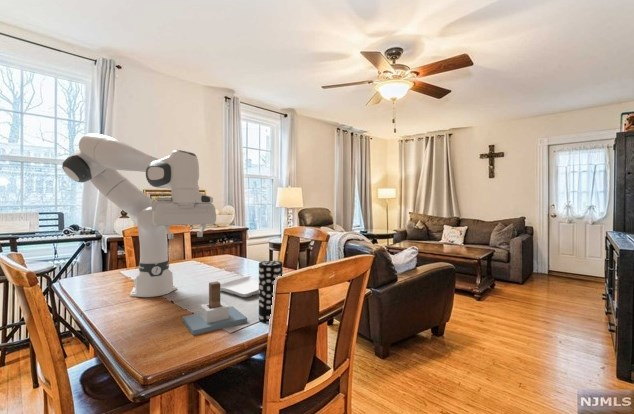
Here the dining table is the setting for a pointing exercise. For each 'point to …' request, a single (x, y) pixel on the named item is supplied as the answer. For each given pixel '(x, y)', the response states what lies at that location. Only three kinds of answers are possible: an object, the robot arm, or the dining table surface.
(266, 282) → the white-spotted black cylinder
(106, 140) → the robot arm
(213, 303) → the brown wooden peg
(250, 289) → the salad plate
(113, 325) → the dining table surface
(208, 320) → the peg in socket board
